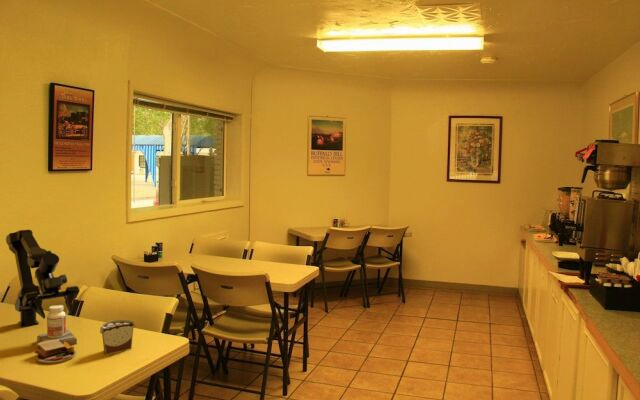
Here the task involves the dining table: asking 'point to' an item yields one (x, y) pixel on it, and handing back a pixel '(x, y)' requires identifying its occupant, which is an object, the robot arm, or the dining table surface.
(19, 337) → the dining table surface
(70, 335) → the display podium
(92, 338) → the dining table surface
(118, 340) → the food container
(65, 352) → the toy sandwich meal
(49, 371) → the dining table surface
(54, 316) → the pill bottle
